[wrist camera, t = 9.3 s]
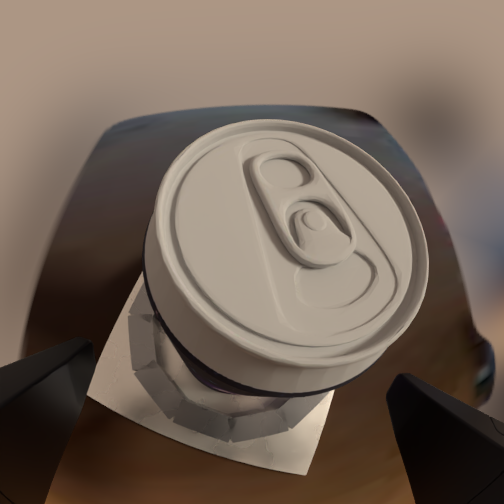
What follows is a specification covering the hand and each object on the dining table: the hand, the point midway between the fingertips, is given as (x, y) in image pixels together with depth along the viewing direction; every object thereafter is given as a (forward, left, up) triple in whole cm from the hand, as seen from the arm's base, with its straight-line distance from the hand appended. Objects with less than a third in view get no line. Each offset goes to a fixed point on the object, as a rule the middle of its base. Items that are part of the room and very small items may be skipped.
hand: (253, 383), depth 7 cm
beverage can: (+2, +1, -8) cm, 8 cm away
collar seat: (+3, +1, -8) cm, 9 cm away
